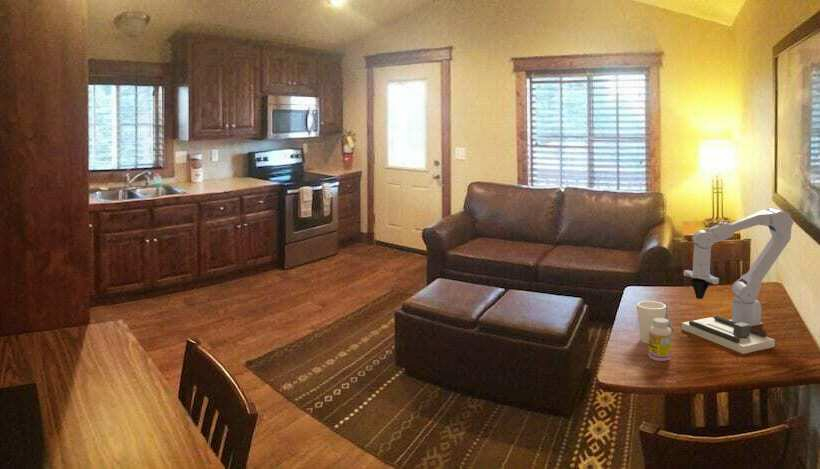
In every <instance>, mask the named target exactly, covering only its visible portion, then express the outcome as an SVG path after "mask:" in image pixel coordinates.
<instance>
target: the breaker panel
mask: <svg viewBox="0 0 820 469" xmlns="http://www.w3.org/2000/svg"><path fill="white" fill-rule="evenodd" d="M693 321H694V322H696V323H699V324H702V325H704V326H707V327H710V328H712V329H715V330H718V331H720V332H723V333H726V334H728V335H731V336H734V335H733V330H734V326H731V325H728V324H725V323H722V322H720V321H717V320H715V319H714V317H711V316H710V317H706V318H704V317H703V318H699V319H694V320H693ZM681 330H682V331H685V332H687V333H690V334H692V335H695V336H698V337H700V338H702V339H705V340H707V341H710V342H712V343H715V344H717V345H720V346H722V347H725V348H727V349H730V350H732V351H735V352H737V353H739V354H742V355H744V354H749V353H752V352H758V351H763V350H766V349H771V348H775V344H776V340H775V339H774V338H771V337H768V336H766V337H762V336H759V335H756V334H753V333H751V332H750V336H747V337H743V338H740V337H737V336H734V337H736V338H739V339H740V342H739V343H736V342H733V341H731V340H728V339H726V338H723V337H720V336H718V335H715V334H712V333H710V332H707V331H705V330H702V329H699V328H697V327H694V326H692V325H689V321H684V322H681Z"/></svg>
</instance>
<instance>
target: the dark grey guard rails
mask: <svg viewBox="0 0 820 469" xmlns="http://www.w3.org/2000/svg"><path fill="white" fill-rule="evenodd" d="M713 318H714V319H715V320H717V321H720V322H722V323H725V324H728V325H731V326H734V324H736V322H733V321H730V320H731V319H727V318H724V317H721V316H719V315H715V316H714V317H713ZM688 322H689V325H692V326H694V327H697V328H699V329H702V330H705V331H707V332H710V333H712V334H715V335H718V336H720V337H723V338H726V339H728V340H731V341H733V342H736V343H739V342H740V339H739V338H736V337H734V336H731V335H728V334H726V333H723V332H720V331H718V330H715V329H712V328H710V327H707V326H704V325H702V324H699V323H696V322H694V320H689V321H688ZM750 332H751V333H753V334H756V335H759V336H762V337H768V333H767V332H765V331H762V330H759V329H756V328H753V327H750Z"/></svg>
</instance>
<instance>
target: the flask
mask: <svg viewBox="0 0 820 469" xmlns="http://www.w3.org/2000/svg"><path fill="white" fill-rule="evenodd" d="M660 303H663V304H665V305H666V314H665V319H668V320H669V325H668V327H669V328H670V329H671V331H672V332H673V330H674V327H673V325H672V322H671V319H670V318H671V317H670V316H669V313H668V312H669V311H668V305H669V303H668V302H667V301H666V302H665V301H662V302H661V301H660Z"/></svg>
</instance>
